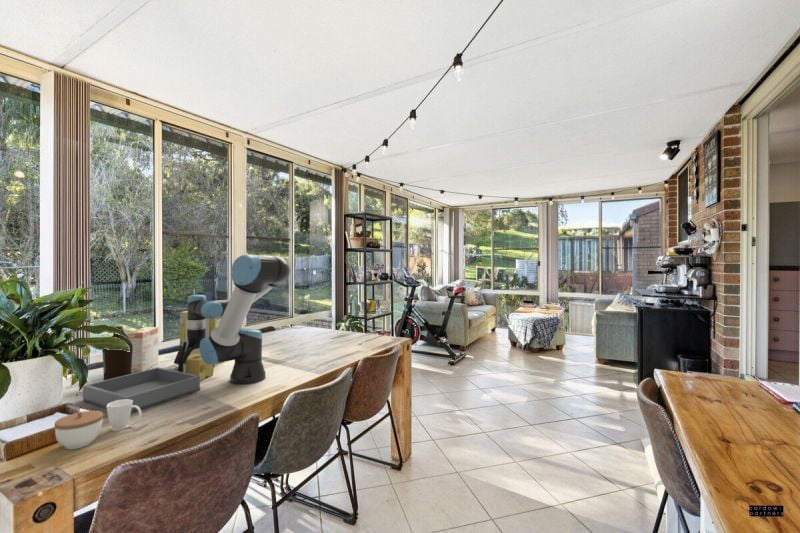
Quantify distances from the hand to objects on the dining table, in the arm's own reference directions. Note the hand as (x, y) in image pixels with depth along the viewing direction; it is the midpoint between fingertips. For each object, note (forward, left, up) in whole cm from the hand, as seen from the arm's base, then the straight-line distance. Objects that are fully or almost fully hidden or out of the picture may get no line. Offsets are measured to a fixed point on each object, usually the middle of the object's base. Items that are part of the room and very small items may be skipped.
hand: (196, 374), depth 169 cm
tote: (-2, +24, -2) cm, 24 cm away
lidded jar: (-26, +56, -2) cm, 62 cm away
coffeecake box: (+38, +1, -2) cm, 38 cm away
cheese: (0, 0, -2) cm, 2 cm away
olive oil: (+24, +20, -2) cm, 31 cm away
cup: (-26, +44, -2) cm, 51 cm away
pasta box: (+18, -17, -2) cm, 25 cm away
